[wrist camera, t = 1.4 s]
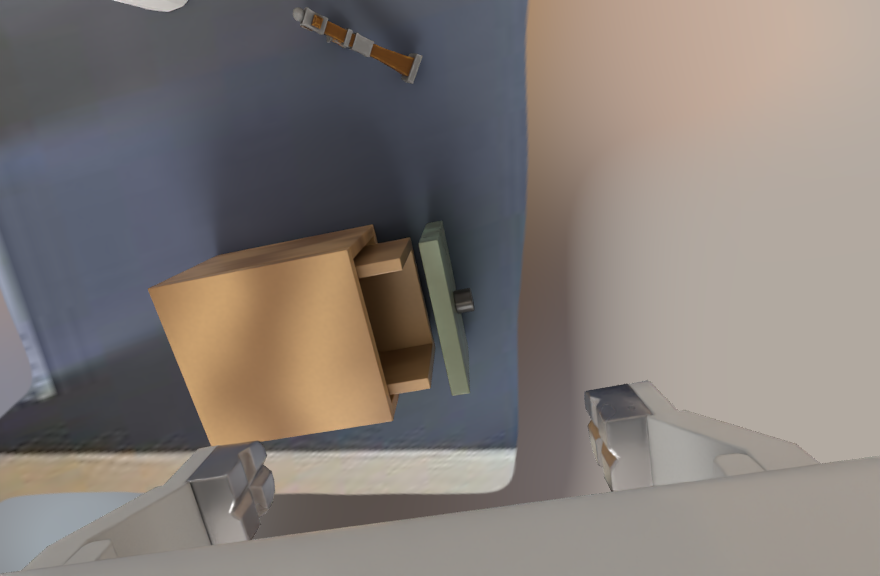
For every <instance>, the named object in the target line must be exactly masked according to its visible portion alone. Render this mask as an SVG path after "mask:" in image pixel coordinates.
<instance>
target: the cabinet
mask: <svg viewBox="0 0 880 576" xmlns="http://www.w3.org/2000/svg"><path fill="white" fill-rule="evenodd" d="M373 244H378V242H377V238H376V234H375V230H374V226H373V225H367V226H362V227H357V228H352V229H347V230H342V231H337V232H332V233H327V234H322V235H317V236H312V237H307V238H302V239H297V240H292V241H287V242H282V243H277V244H272V245H267V246H262V247H257V248H252V249H247V250H242V251H237V252H232V253H227V254H222V255H217V256H215V257H213V258H211V259H209V260H207V261H205V262H203V263H200V264H198V265H196V266H194V267H192V268H190V269H188V270H186V271H184V272H182V273H180V274H178V275H175V276H173V277H171V278H169V279H167V280H165V281H163V282H161V283H159V284H157V285H154V286H152V287H150V288H148V291H149V293H150V296H151V298H152V301H153V303H154V306H155V308H156V311H157V313H158V316H159V318H160V320H161V323H162V325H163V328H164V330H165V333H166V335H167V338H168V340H169V343H170V345H171V348H172V350H173V353H174V355H175V357H176V360H177V362H178V365H179V367H180V370H181V372H182V375H183V377H184V380H185V382H186V385H187V387H188V390H189V392H190V395H191V397H192V399H193V402H194V404H195V407H196V409H197V412H198V414H199V417H200V419H201V422H202V424H203V427H204V429H205V432H206V434H207V437H208V439H209V441H210V444H211V446H216V445H227V444H234V443H242V442H249V441H257V440H258V441H260V442H261V441H268V440H274V439H281V438H287V437H293V436H300V435H306V434H313V433H319V432H325V431H332V430H338V429H345V428H351V427H357V426H364V425H370V424H377V423H383V422H389V421H393V418H394V413H395V409H396V405H397V401H398V397H399V394H392V395H389V392H388V388H387V384H386V381H385V377H384V373H383V369H382V366H381V362H380V358H379V354H378V351H377V347H376V343H375V339H374V336H373V332H372V328H371V324H370V321H369V317H368V313H367V309H366V306H365V302H364V298H363V294H362V290H361V287H360V283H359V279H358V275H357V272H356V268H355V264H354V260H353V259H354V257H355V256H356V255H357V254H358V253H359V252H360V251H361V250H362V248H363V247H364V246H368V245H373Z"/></svg>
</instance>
